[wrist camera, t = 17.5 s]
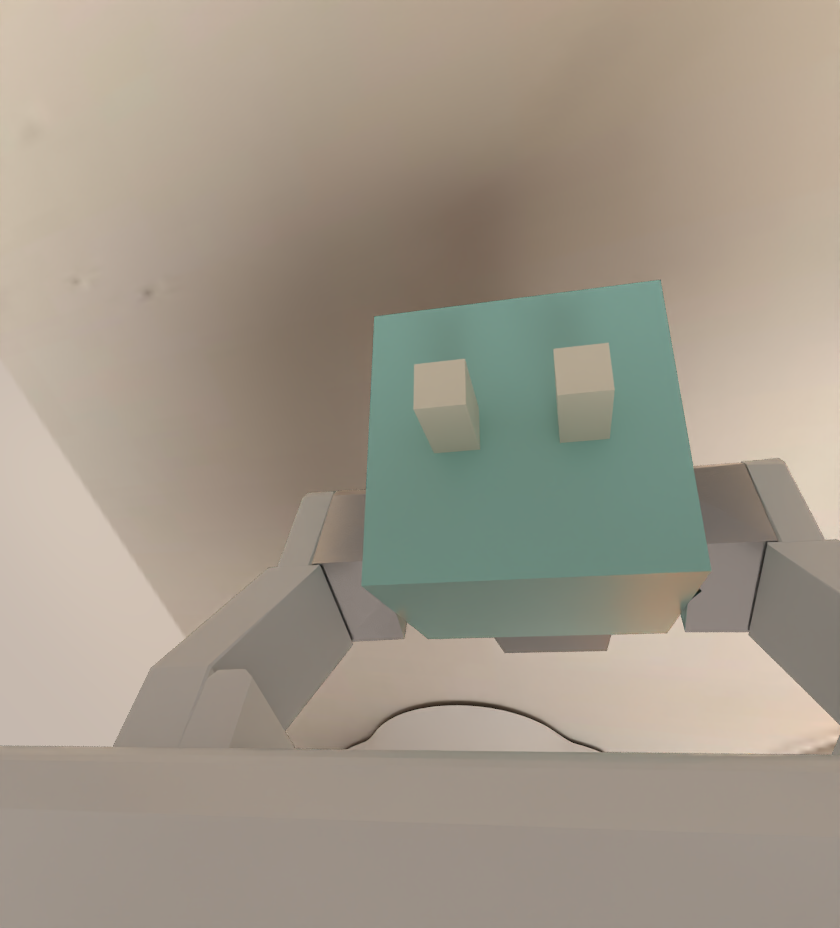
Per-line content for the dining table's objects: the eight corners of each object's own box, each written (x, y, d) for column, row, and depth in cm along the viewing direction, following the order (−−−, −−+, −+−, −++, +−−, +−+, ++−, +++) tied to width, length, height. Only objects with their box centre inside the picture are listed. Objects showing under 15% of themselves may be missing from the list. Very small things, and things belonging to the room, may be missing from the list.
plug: (613, 551, 20) (628, 686, 19) (485, 557, 21) (489, 687, 20) (672, 213, 8) (734, 538, 6) (348, 260, 8) (327, 559, 7)
